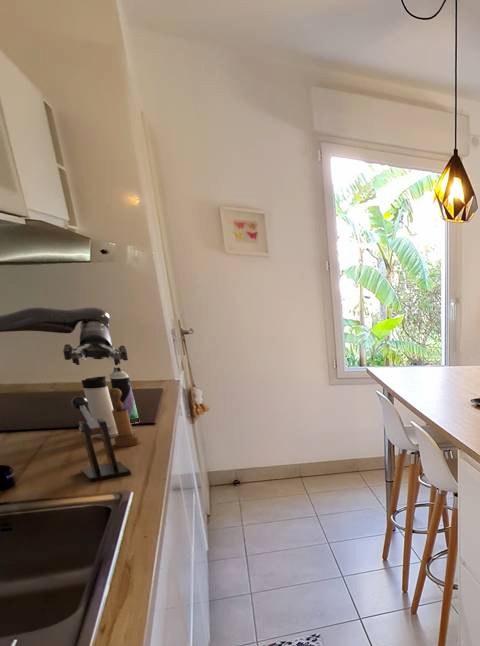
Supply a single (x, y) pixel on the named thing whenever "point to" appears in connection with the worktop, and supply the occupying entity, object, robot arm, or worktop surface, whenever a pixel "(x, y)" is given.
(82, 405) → the tap lever
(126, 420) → the wooden pepper mill
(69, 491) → the worktop surface
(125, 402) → the spray can
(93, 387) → the travel mug
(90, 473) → the bracket
